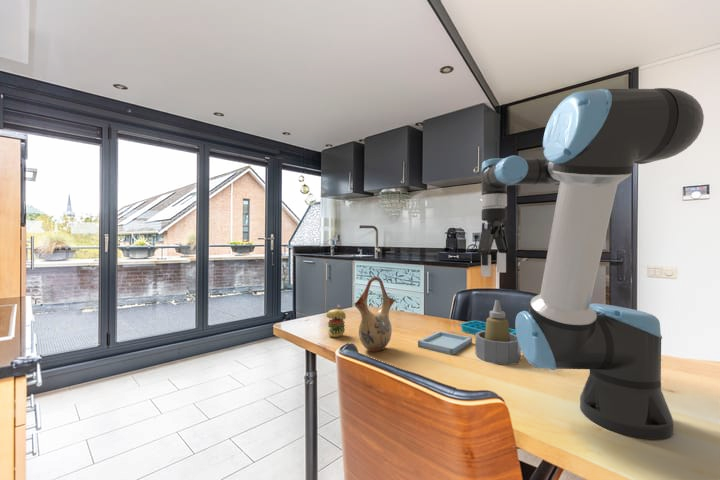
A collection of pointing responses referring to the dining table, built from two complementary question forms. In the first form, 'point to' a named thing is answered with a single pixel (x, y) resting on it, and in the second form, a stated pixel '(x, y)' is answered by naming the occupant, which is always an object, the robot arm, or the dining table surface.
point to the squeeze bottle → (497, 325)
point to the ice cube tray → (477, 327)
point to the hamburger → (336, 322)
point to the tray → (445, 342)
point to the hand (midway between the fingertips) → (494, 274)
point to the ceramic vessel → (374, 320)
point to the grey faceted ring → (497, 349)
